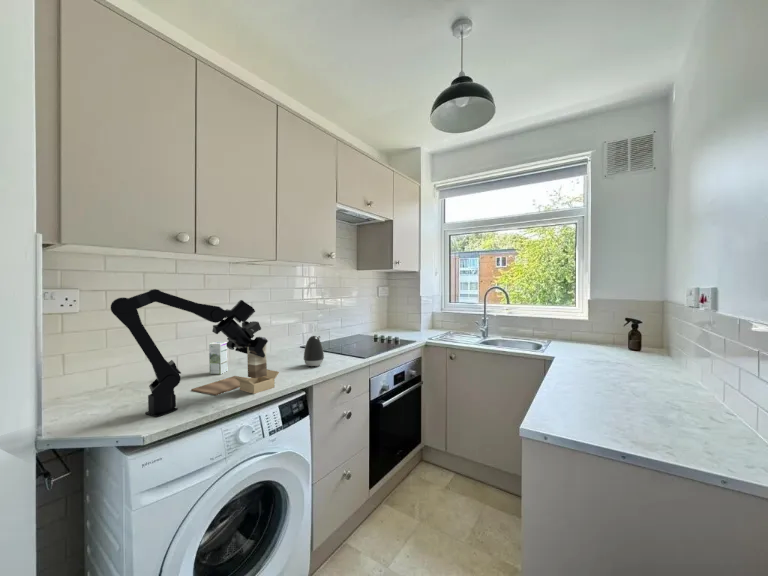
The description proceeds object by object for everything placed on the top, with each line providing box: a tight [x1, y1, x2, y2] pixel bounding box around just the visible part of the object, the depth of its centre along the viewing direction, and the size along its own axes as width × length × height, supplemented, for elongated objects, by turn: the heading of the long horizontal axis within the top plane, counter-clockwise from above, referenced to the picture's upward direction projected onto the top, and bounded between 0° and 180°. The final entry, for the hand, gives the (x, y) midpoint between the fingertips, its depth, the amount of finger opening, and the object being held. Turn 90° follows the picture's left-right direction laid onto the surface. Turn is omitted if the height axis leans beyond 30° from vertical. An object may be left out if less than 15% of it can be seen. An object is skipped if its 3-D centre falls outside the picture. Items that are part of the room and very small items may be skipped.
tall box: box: [246, 344, 268, 378], centre depth 125 cm, size 5×5×14 cm
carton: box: [234, 368, 280, 395], centre depth 125 cm, size 14×9×6 cm, turn 147°
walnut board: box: [190, 375, 249, 396], centre depth 129 cm, size 20×14×1 cm
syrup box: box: [208, 341, 229, 375], centre depth 149 cm, size 6×6×14 cm
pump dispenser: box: [303, 335, 325, 367], centre depth 161 cm, size 10×10×15 cm
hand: (260, 355), depth 126 cm, fingers closed on tall box, 5 cm apart
